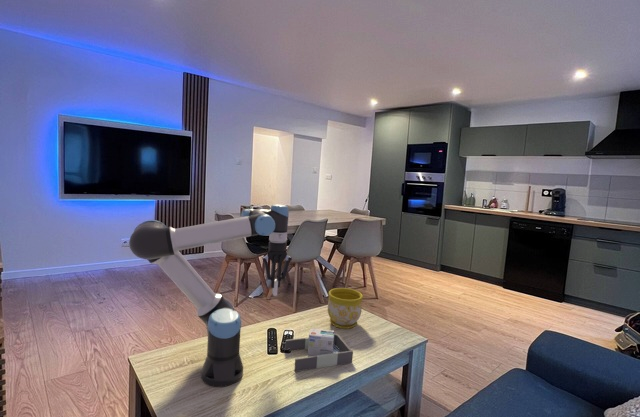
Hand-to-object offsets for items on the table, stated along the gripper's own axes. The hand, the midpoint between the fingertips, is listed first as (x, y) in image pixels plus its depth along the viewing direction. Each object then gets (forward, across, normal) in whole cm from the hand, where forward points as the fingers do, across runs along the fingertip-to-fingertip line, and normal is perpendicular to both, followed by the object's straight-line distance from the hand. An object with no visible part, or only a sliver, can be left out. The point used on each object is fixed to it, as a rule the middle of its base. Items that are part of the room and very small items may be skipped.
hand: (274, 294), depth 144 cm
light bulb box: (+25, +19, -11) cm, 33 cm away
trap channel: (+24, +18, -12) cm, 32 cm away
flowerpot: (+25, +42, +15) cm, 51 cm away
